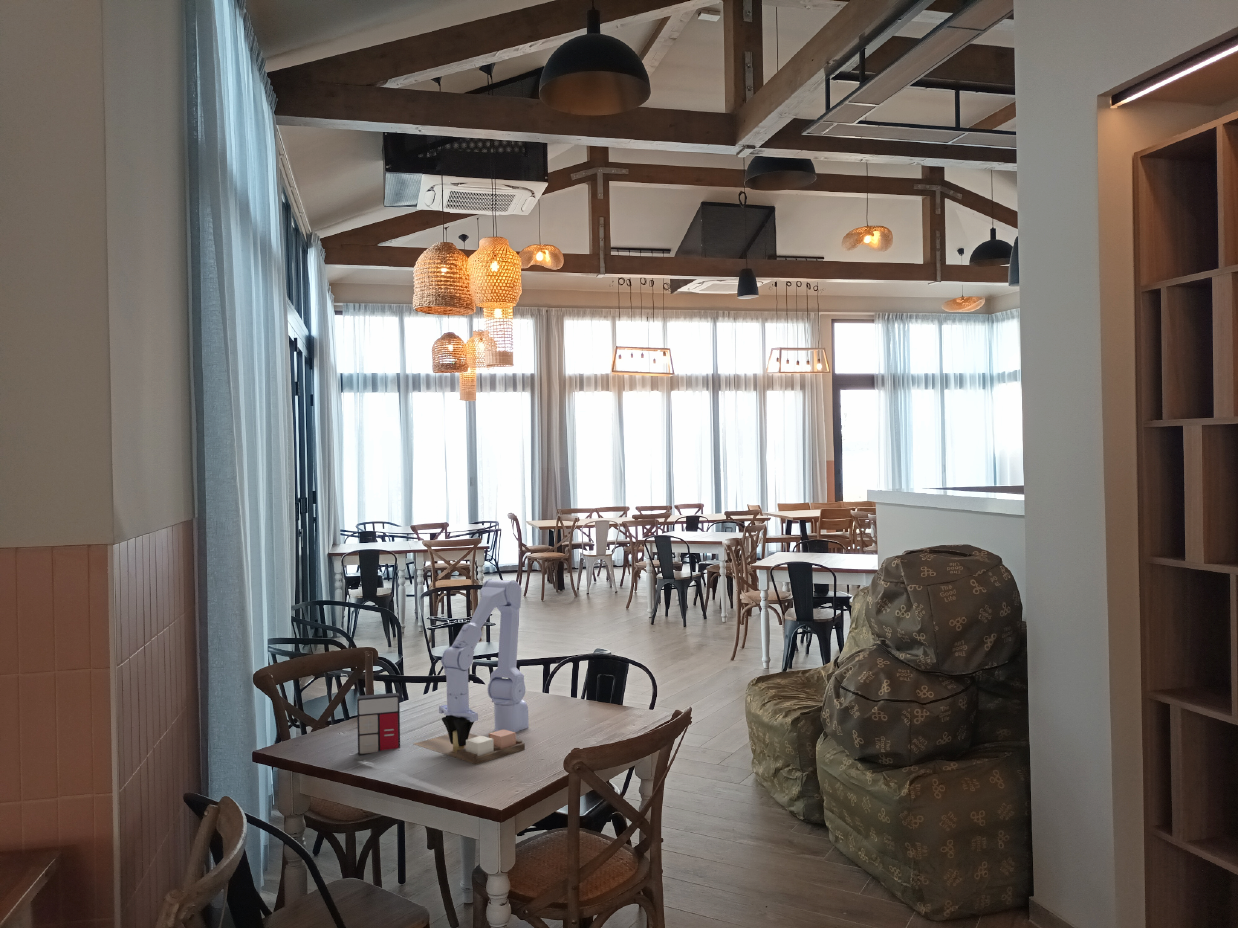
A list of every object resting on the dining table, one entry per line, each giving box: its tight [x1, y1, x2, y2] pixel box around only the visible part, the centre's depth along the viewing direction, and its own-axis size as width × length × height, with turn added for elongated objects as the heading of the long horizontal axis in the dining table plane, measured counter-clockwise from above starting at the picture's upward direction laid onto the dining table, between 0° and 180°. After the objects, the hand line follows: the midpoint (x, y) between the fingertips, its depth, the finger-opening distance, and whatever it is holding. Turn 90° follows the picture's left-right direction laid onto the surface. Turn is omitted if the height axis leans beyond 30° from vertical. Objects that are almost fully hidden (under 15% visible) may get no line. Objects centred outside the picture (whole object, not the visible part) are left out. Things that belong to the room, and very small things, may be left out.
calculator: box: [356, 692, 401, 756], centre depth 236 cm, size 11×4×15 cm, turn 105°
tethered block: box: [453, 730, 494, 756], centre depth 228 cm, size 5×13×5 cm, turn 47°
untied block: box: [488, 729, 517, 749], centre depth 231 cm, size 5×5×4 cm
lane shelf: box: [413, 733, 526, 765], centre depth 235 cm, size 16×28×3 cm, turn 47°
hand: (458, 744), depth 232 cm, fingers closed on tethered block, 3 cm apart
